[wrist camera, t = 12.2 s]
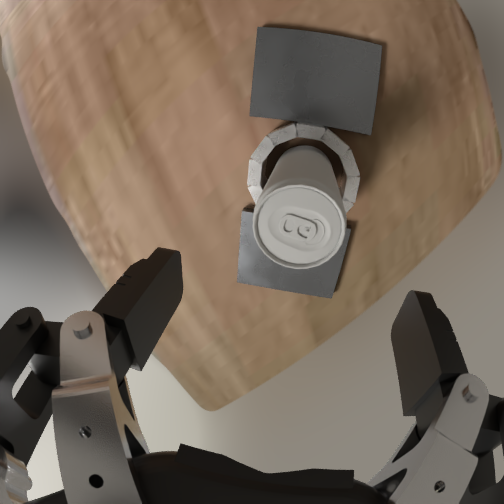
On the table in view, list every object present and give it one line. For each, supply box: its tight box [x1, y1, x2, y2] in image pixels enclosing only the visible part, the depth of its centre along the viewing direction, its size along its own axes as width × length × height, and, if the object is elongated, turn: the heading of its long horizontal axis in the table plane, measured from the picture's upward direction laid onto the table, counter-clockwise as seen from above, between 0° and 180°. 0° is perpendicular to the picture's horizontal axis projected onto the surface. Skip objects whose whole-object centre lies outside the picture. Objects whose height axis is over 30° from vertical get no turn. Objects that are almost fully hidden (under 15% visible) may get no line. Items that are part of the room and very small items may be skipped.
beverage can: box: [253, 145, 346, 269], centre depth 19 cm, size 5×5×12 cm
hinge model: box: [237, 27, 382, 298], centre depth 23 cm, size 25×10×3 cm, turn 175°
